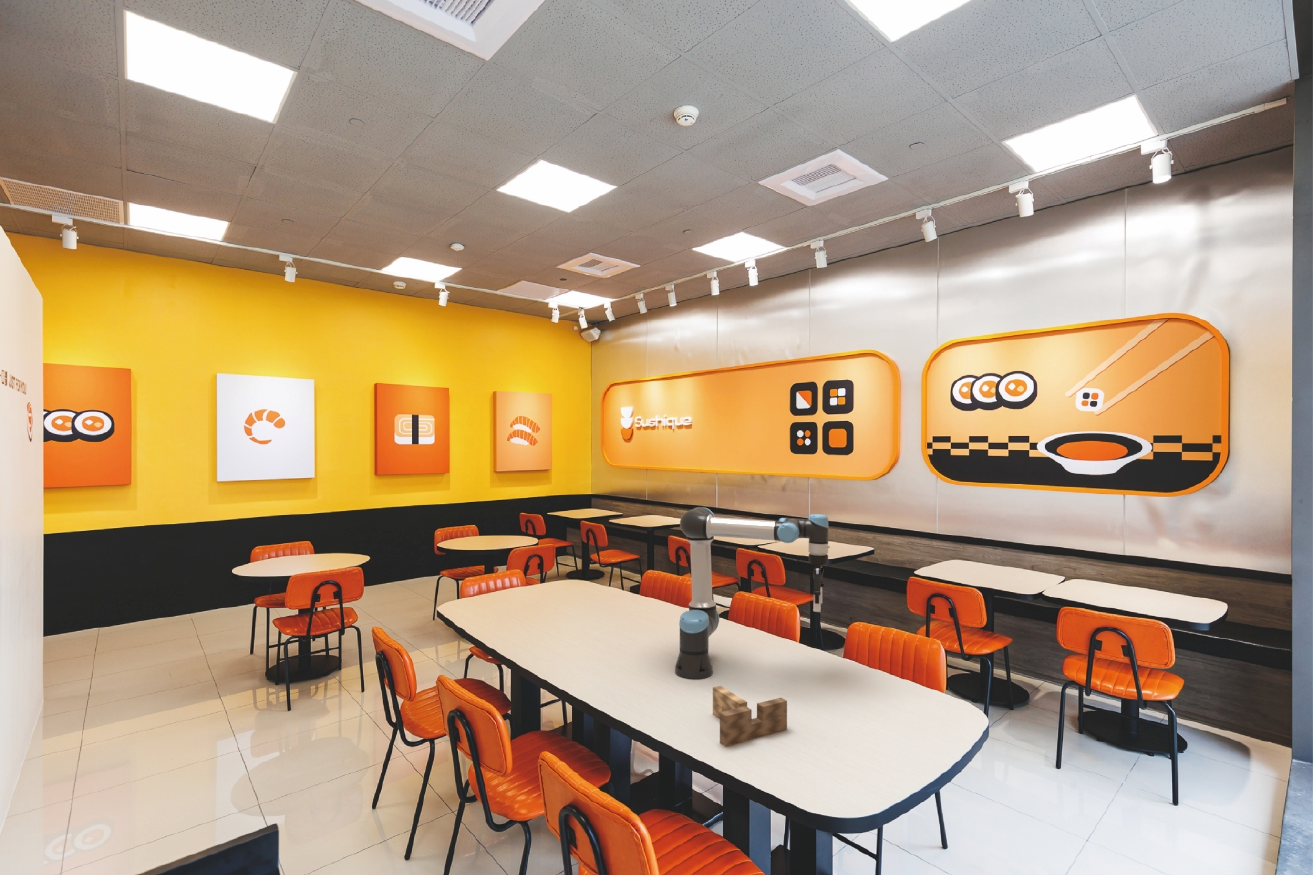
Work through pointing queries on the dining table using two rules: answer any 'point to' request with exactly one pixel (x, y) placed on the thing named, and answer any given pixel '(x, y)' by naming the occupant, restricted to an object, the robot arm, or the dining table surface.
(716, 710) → the oak plate
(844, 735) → the dining table surface
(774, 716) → the walnut board
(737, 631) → the dining table surface
